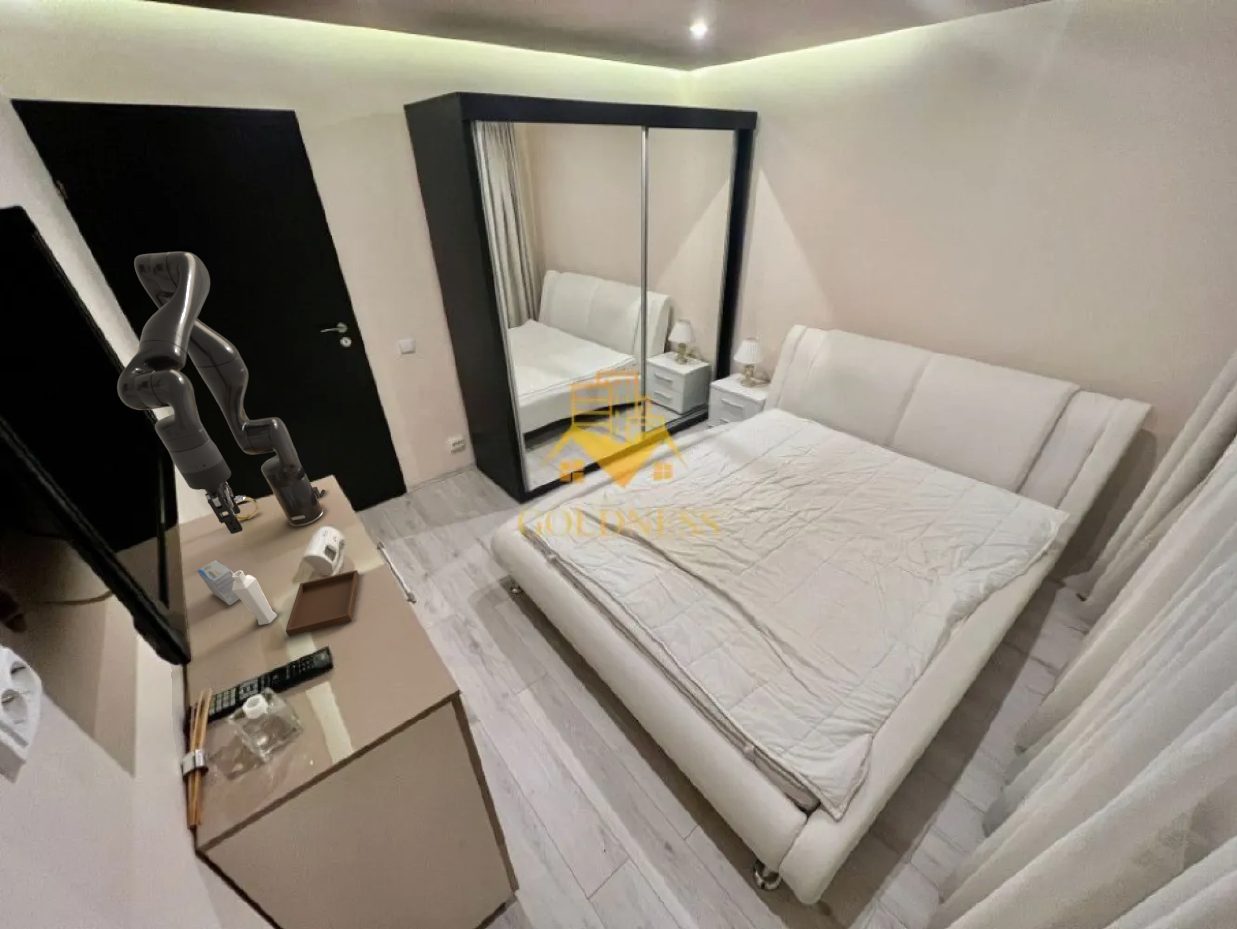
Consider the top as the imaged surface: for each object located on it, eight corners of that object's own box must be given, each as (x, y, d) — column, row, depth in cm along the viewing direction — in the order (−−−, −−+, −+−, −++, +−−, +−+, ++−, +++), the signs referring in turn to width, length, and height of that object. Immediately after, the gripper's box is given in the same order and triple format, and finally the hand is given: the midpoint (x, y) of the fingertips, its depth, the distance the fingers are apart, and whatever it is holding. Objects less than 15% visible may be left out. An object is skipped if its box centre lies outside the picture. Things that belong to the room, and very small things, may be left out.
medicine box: (248, 594, 120) (231, 569, 116) (229, 606, 117) (211, 582, 113) (232, 583, 124) (215, 558, 119) (213, 594, 121) (195, 570, 116)
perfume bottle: (251, 622, 113) (220, 577, 105) (270, 609, 116) (241, 564, 108) (263, 629, 111) (231, 584, 103) (281, 615, 114) (252, 571, 106)
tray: (303, 589, 121) (300, 583, 120) (359, 575, 124) (356, 569, 123) (289, 637, 109) (285, 631, 108) (351, 620, 112) (348, 614, 111)
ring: (262, 510, 149) (250, 490, 145) (263, 516, 147) (251, 495, 143) (236, 519, 146) (223, 499, 142) (236, 525, 144) (223, 504, 140)
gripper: (223, 469, 97) (258, 531, 106) (220, 443, 107) (253, 502, 116) (176, 483, 94) (217, 545, 102) (179, 455, 104) (215, 514, 112)
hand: (236, 522), depth 109 cm, fingers open, 8 cm apart
